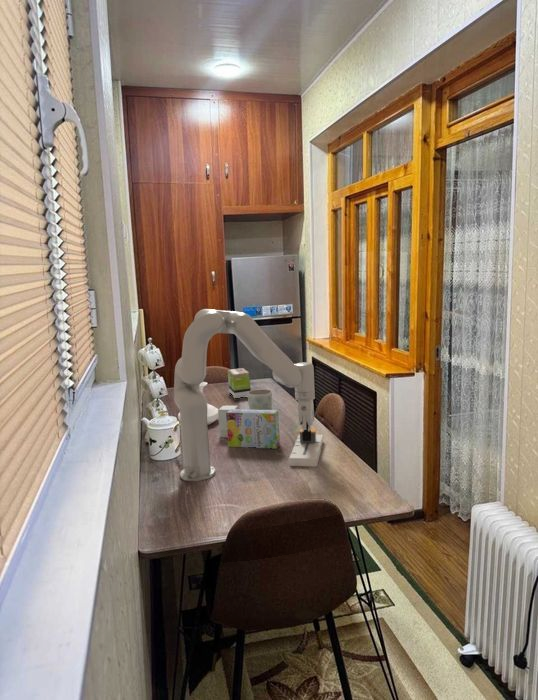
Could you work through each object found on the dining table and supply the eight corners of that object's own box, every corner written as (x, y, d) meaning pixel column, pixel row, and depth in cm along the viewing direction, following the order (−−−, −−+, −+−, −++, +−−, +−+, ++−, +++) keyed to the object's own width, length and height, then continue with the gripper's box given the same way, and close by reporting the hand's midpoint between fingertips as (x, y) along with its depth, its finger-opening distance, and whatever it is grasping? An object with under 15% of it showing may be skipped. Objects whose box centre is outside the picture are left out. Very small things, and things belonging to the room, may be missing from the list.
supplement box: (235, 437, 216) (233, 409, 214) (219, 437, 217) (217, 409, 215) (240, 432, 223) (238, 405, 221) (224, 432, 224) (222, 405, 222)
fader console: (316, 466, 180) (316, 458, 179) (289, 465, 182) (289, 457, 181) (323, 441, 205) (322, 434, 204) (299, 441, 207) (298, 434, 206)
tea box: (228, 393, 295) (227, 369, 292) (245, 391, 298) (243, 367, 295) (234, 399, 281) (232, 373, 278) (251, 397, 284) (250, 371, 281)
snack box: (280, 444, 204) (278, 409, 202) (277, 449, 199) (275, 413, 197) (232, 442, 210) (229, 408, 208) (227, 447, 205) (225, 412, 202)
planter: (276, 413, 248) (275, 392, 246) (253, 417, 243) (252, 396, 242) (267, 408, 259) (266, 387, 258) (245, 411, 255) (244, 391, 253)
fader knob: (315, 443, 194) (315, 431, 194) (299, 442, 196) (299, 431, 195) (316, 439, 198) (316, 428, 197) (301, 439, 199) (300, 428, 198)
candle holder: (181, 418, 250) (177, 381, 246) (220, 415, 251) (218, 378, 248) (176, 430, 230) (173, 390, 227) (219, 427, 231) (216, 387, 228)
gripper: (312, 399, 182) (314, 447, 185) (316, 389, 196) (318, 434, 199) (292, 399, 183) (294, 447, 186) (297, 390, 198) (299, 434, 200)
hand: (306, 440), depth 192 cm, fingers closed
